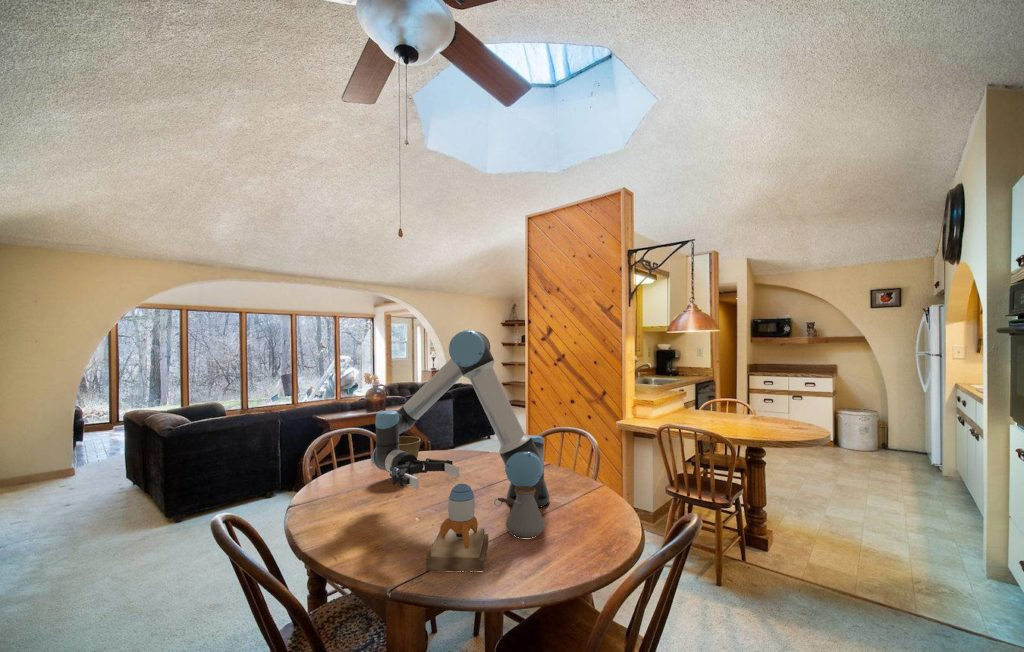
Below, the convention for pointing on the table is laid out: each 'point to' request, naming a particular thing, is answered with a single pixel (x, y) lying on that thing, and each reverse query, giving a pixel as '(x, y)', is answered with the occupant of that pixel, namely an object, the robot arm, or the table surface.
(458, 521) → the toy rocket
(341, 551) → the table surface
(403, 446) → the plant pot
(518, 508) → the coffee pot
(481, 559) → the pad
